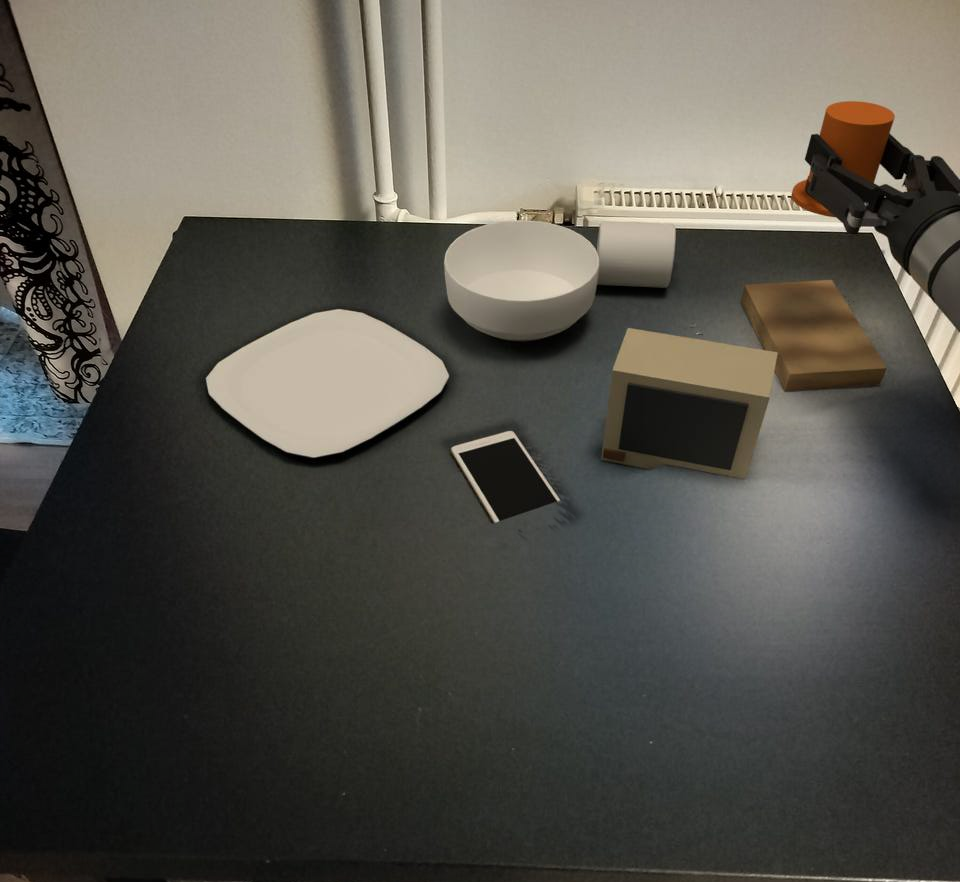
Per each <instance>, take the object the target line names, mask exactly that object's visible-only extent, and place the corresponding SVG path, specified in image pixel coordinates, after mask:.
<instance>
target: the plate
mask: <svg viewBox="0 0 960 882" xmlns="http://www.w3.org/2000/svg"><path fill="white" fill-rule="evenodd" d="M449 378H450V374H449V372H448V370H447V368H446V366H445V364H444V362H443V360H442V358H439V357H438V356H437V355H436V354H435V353H433V352H432V351H431V350H430V349H428V348H426V346H424V345H422V344H421V343H419V342H418V341H416V340H414V339H413V338H411V337H409V336H408V335H406V334H404V333H403V332H401V331H399V330H398V329H396V328H394V327H392V326H390V325H389V324H387V323H385V322H384V321H381V320H379V319H376V318H374V317H372V316H370V315H368V314H367V313H364V312H360V311H359V312H358V311H353V310H348V309H341V308H336V309H331V310H326V311H319V312H314V313H311V314H308V315H306V316H304V317H302V318H299V319H297V320H295V321H291V322H289V323H287V324H286V325H283V326H280V327H279V328H277V329H275V330H273V331H272V332H269V333H267V334H265V335H264V336H262V337H259V338H257V339H256V340H254V341H252V342H250V343H248V344H246V345H244V346H242V347H241V348H239V349H237V350H236V351H235V352H232V353H231V354H229V355H228V356H226V357H225V358H223V359H222V360H220V361H218V362H217V363H216V365H215V366H214V367H213V369H212V370H211V371H210V372H209V373H208V375H207V376H206V377H205V381H206V386H207V391H208V395H209V396H210V398H211V399H213V401H214V402H215V403H216V404H217V405H218V406H219V407H220V408H221V409H222V410H223V411H224V412H225V413H227V414H228V415H229V416H230V417H232V418H233V419H235V421H237V422H238V423H239V424H241V425H242V426H243V427H245V428H246V429H247V430H248V431H250V432H252V433H253V434H254V435H256V436H257V437H258V438H260V439H261V440H263V441H264V442H266V443H268V444H269V445H271V446H273V447H274V448H277V449H278V450H280V451H282V452H284V453H285V454H288V455H294V456H298V457H304V458H309V459H314V460H315V459H319V458H323V457H324V458H325V457H330V456H335V455H340V454H343V453H346V452H348V451H350V450H352V449H354V448H356V447H358V446H360V445H363V444H364V443H367V442H368V441H370V440H372V439H374V438H375V437H378V436H379V435H380V434H382V433H384V432H385V431H388V430H389V429H391V428H392V427H394V426H396V425H397V424H399V423H401V422H402V421H403V420H406V419H407V418H408V417H410V416H412V415H413V414H415V413H416V412H418V411H419V410H421V409H423V408H424V407H425V406H426V405H427V404H429V403H430V402H431V401H433V400H435V398H437V397H438V396H439V395H440V394H441V393H442V392H443V389H444V388H445V386H446V384H447V382H448V380H449Z"/></svg>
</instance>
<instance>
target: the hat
mask: <svg viewBox="0 0 960 882" xmlns="http://www.w3.org/2000/svg"><path fill="white" fill-rule="evenodd" d="M895 118H896V115H895V113H894V112H893V110H891V109H889V108H887V107H885V106H883V105H880V104H877V103H874V102H867V101H858V100H847V101H839V102H834V103H832V104H829V105H828V106H827V107H826V108H825V113H824V117H823V120H822V124H821V128H820V131H819V134H818V135H819V136H820V137H821V138H822V139H823V140H824V141H825V142H826V143H827V144H828V145H829V146H830V147H831V148H832V149H833V150H834V151H835V152H836V153H837V155H838V156H839V157H840V158H841V159H842V163H841V166H842V167H844V168H846V169H848V170H850V171H852V172H854V173H856V174H857V175H859V176H861V177H863V178H865V179H867V180H869V181H871V182H873V183H874V184H875V181H876V178H877V175H878V171H879V168H880V166H881V165H880V162H881V159H882V156H883V153H884V149H885V146H886V143H887V140H888V137H889V134H891V130H892V127H893V124H894V121H895ZM809 170H810V169H809ZM812 175H813V172H811V170H810V171H809V174H808V175H807V177H806V179H804V180H801V181H798V182H797V183H796V184H795V185H794V186H793V187H792V191H791V194H790V195H791V199H792V201H793V202H794V203H795V204H796V205H797V206H798V207H800V208H801V209H803V210H805V211H807V212H810V213H813V214H815V215H816V214H817V215H820V216H823V217H828V218H836V217H835V216H834V215H833V214H832V213H830V212H829V211H828V210H827V209H826V208H825V207H824V206H822V205H821V204H820V203H819V202H818V201H817V200H815V199H814V198H813V197H812V196H811V195H810V194H809V193H808V189H809V185H810V182H811V178H812Z"/></svg>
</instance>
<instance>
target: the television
mask: <svg viewBox="0 0 960 882" xmlns="http://www.w3.org/2000/svg"><path fill="white" fill-rule="evenodd" d="M777 354H778V352H773V351H767V350H764V349H760V348H753V347H749V346H748V347H747V346H741V345H735V344H729V343H724V342H717V341H711V340H704V339H699V338H693V337H687V336H680V335H673V334H668V333H661V332H655V331H649V330H644V329H643V330H642V329H637V328H631V327H627V329H626V332H625V334H624V337H623V340H622V343H621V346H620V348H619V351H618V353H617V356H616V359H615V362H614V364H613V368H612V369H611V377H610V378H611V379H610V386H609V395H608V402H607V409H606V416H605V417H606V418H605V425H604V426H605V427H604V435H603V440H602V441H603V443H602V450H601V458H600V460H601V461H603V462H604V461H605V462H610V463H615V464H619V465H625V466H631V467H635V468H641V469H645V470H653V469H656V468H660V467H663V466H665V465H669V466H675V467H679V468H685V469H691V470H695V471H700V472H706V473H712V474H716V475H722V476H725V477H731V478H737V479H743V480H746V478H747V476H748V472H749V469H750V466H751V462H752V458H753V455H754V451H755V450H756V449H755V448H756V445H757V442H758V439H759V435H760V432H761V429H762V425H763V421H764V419H765V415H766V412H767V408H768V405H769V403H770V402H769V401H770V398H771V395H772V394H771V393H772V388H773V382H774V376H775V366H776V360H777Z"/></svg>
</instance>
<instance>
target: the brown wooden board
mask: <svg viewBox="0 0 960 882" xmlns="http://www.w3.org/2000/svg"><path fill="white" fill-rule="evenodd" d="M740 304H741V306H742V307H743V310H744V311H745V314H746V317H748V319H749V322H750V324H751V326H752V328H753V330H754V332H755V334H756V336H757V338H758V340H759V342H760V344H761V346H762V348H763V350H767V351H773V352H778V354H777V360H776V366H775V371H774V373H775V374H776V376H777V378H778V380H779V383H780V384H781V386H782V389H783V390H784V392H794V391H809V390H810V391H811V390H825V389H840V388H853V387H854V388H855V387H869V386H870V387H871V386H880V385H881V384H882V381H883V379H884V376H885V374H886V372H887V369H888V366H886V364H885V362H884V360H883V359H882V358H881V356H880V354H879V353H878V351H877V350H876V348H875V346H874V345H873V343H872V341H871V340H870V338H869V337H868V335H867V334H866V332H865V331H864V329H863V327H862V326H861V324H860V323H859V320H857V318H856V316H855V314H854V313H853V312H852V310H851V308H850V306H849V305H848V303H847V302H846V300H845V299H844V296H843V295H842V294H841V292H840V291H839V289H838V288H837V286H836V284H835V283H834V281H833V280H832V279H822V280H806V281H805V280H804V281H803V280H802V281H786V282H773V283H770V282H769V283H753V284H744V286H743V289H742V294H741V298H740Z"/></svg>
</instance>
